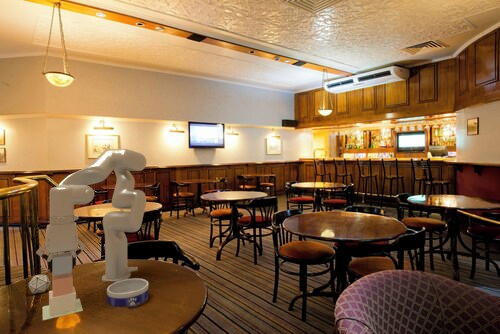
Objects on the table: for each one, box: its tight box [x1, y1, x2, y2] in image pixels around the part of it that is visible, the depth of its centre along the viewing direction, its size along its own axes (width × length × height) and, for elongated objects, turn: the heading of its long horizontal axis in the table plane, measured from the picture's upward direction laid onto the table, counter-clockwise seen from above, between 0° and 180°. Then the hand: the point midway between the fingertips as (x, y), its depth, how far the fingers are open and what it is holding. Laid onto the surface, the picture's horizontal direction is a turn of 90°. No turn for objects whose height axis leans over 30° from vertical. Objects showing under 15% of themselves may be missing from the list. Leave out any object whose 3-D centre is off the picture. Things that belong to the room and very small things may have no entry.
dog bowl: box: [106, 278, 149, 309], centre depth 120 cm, size 15×15×6 cm
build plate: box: [42, 298, 84, 321], centre depth 111 cm, size 12×12×1 cm
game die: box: [25, 272, 52, 296], centre depth 127 cm, size 9×8×10 cm
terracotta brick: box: [51, 272, 74, 297], centre depth 111 cm, size 6×6×6 cm
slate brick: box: [51, 251, 73, 276], centre depth 111 cm, size 6×6×6 cm
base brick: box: [48, 286, 77, 316], centre depth 111 cm, size 8×8×6 cm
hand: (62, 269), depth 111 cm, fingers closed on slate brick, 6 cm apart
